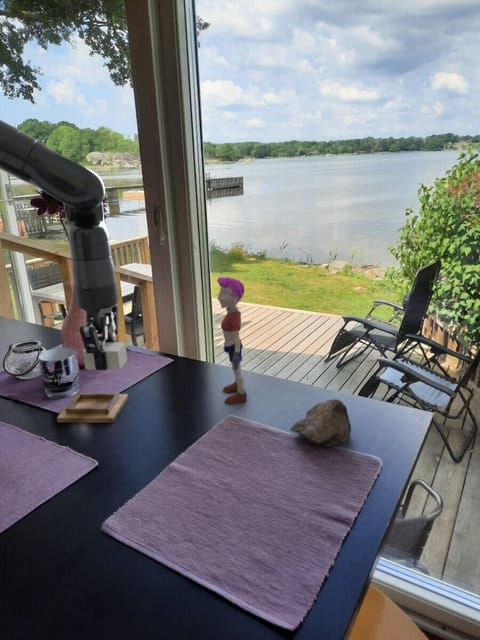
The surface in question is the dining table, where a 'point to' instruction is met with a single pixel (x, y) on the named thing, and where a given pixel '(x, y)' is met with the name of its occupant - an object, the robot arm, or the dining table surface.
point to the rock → (325, 424)
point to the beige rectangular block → (108, 356)
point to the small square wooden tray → (93, 408)
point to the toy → (232, 334)
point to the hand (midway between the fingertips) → (106, 363)
